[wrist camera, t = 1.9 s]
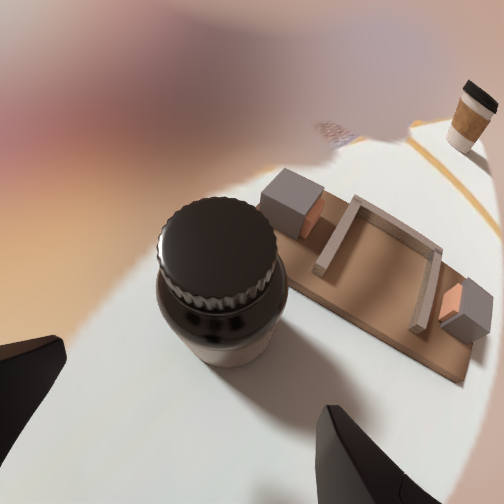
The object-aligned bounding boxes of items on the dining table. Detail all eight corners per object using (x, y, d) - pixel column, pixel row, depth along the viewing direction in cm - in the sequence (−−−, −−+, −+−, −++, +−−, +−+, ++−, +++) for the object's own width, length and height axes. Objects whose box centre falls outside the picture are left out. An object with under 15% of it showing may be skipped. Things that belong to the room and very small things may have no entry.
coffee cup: (436, 127, 43) (460, 73, 31) (463, 140, 43) (487, 90, 30) (449, 149, 39) (479, 90, 26) (477, 163, 39) (507, 110, 26)
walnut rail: (226, 247, 24) (224, 213, 20) (286, 180, 29) (292, 146, 26) (455, 383, 18) (489, 372, 14) (473, 294, 23) (499, 274, 19)
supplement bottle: (184, 288, 22) (147, 181, 12) (267, 286, 23) (291, 177, 12) (183, 370, 18) (120, 324, 8) (274, 368, 19) (320, 319, 9)
